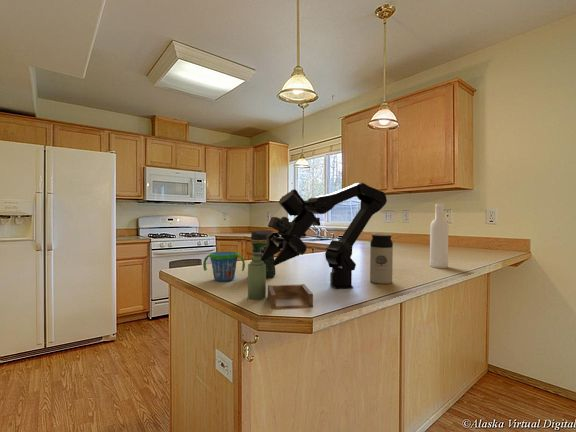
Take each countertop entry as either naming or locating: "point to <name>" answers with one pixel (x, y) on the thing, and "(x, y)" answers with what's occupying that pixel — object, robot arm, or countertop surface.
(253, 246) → the coffee jar
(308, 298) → the wooden serving tray
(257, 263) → the bottle
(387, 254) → the travel mug
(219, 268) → the snack cup
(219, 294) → the countertop surface
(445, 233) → the bottle
